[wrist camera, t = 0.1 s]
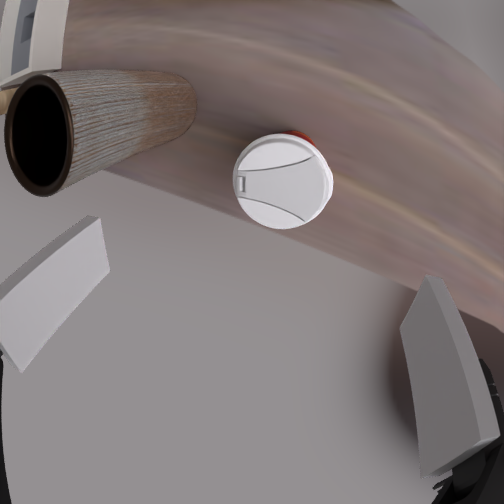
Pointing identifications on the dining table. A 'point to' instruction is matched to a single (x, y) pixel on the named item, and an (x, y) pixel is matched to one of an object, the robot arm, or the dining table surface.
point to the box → (31, 39)
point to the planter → (90, 122)
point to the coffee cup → (282, 180)
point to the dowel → (6, 99)
